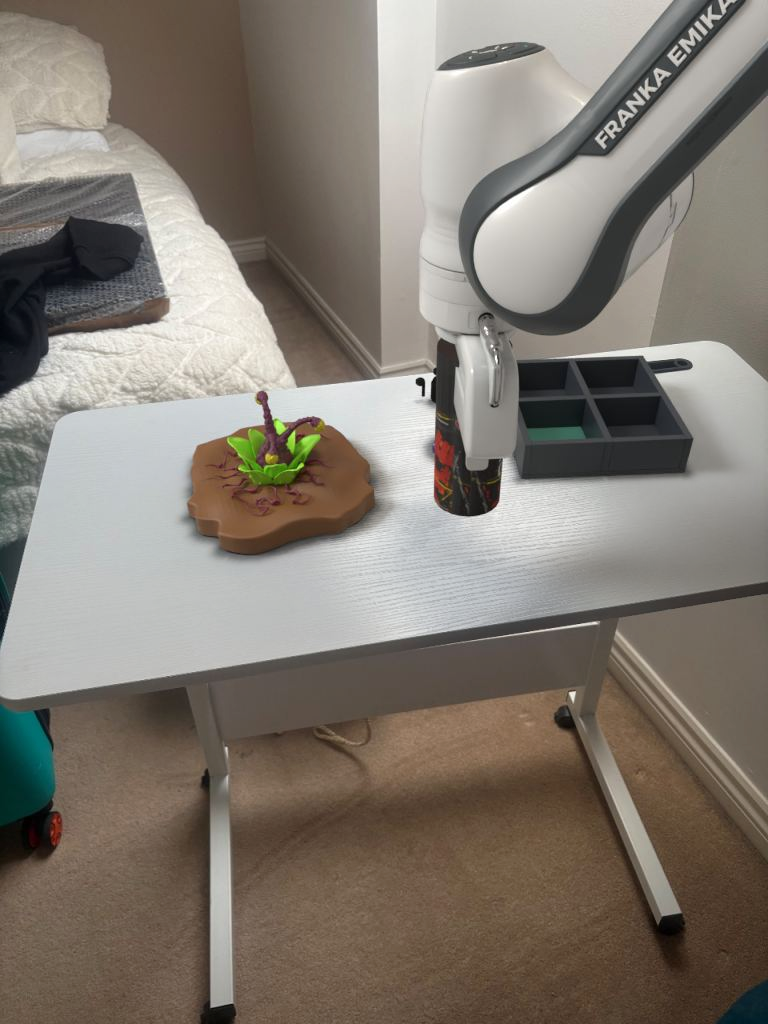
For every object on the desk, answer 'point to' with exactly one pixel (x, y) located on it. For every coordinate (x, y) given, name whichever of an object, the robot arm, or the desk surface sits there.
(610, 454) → the compartment tray
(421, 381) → the wireless earbuds
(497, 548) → the desk surface
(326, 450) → the plant
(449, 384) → the deodorant
